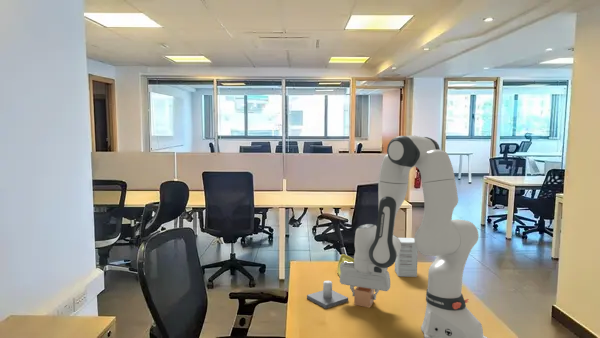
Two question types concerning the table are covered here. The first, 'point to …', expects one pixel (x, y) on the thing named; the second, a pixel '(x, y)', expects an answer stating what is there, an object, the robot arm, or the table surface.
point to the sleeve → (363, 297)
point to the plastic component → (343, 259)
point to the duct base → (328, 300)
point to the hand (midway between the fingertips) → (364, 297)
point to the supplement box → (407, 258)
